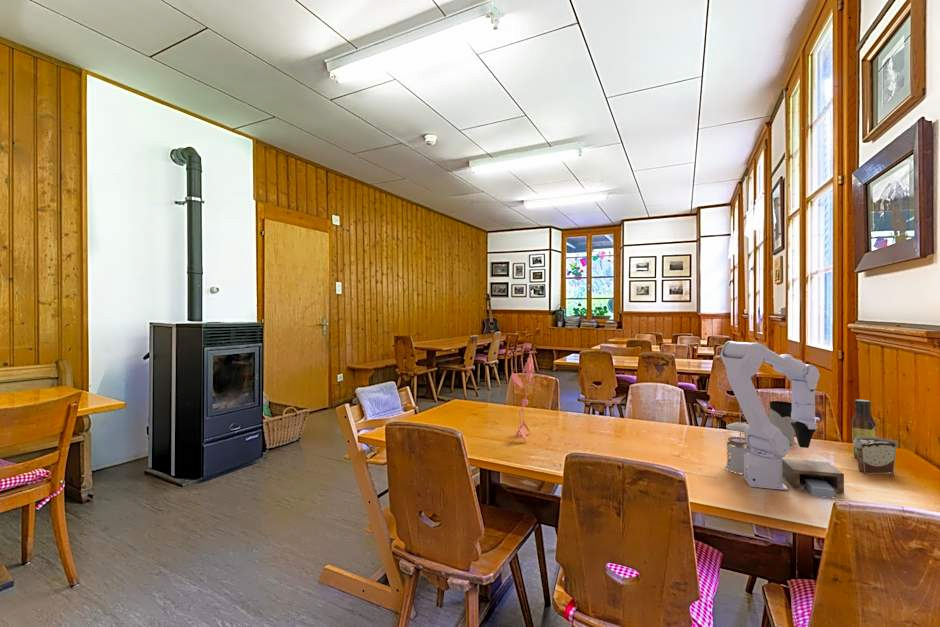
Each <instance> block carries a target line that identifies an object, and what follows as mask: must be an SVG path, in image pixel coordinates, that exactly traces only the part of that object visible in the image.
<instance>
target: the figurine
mask: <svg viewBox="0 0 940 627" xmlns="http://www.w3.org/2000/svg"><path fill="white" fill-rule="evenodd" d="M524 364H525V365H524V367H523V370H522V373H521V375H520V376H519V375H518V374H517V373H514V371H511V378H512V385H513V388H515V387H516V386H518V387H520V388H521V389H523V387H524V388H525V398H523V399H522V400H521V404H522V405H521V408H520V409H519V410H518V414H519V425H518V426H517V429H518V430H517V432H516V433H515V436H514V438H515V437H516V438H517V437H518V433H519V432H520V433H519V434H520V435H521V437H522V439H523V440H524V441H525V440H526V439H527V440H528V438H527V435H526V432H525V431H524V429H523V427H524V428H525V429H526V430H527V432H528V431H529V432H530V433H531V431H530V429H529V427H528V426H527V424H526V422H525V415H524V408H525V407H526V406H528V404H529V400H528V399H527V396H528V388H527V386H526V385H525V384H524V383H523V381H522V379H523V376H524V374H525V373H526V376H525V377H526V379H527V382H528V385H530V384H531V379H533V374H534V375H536V372H535V370H534V369H535V366H534V360H533V356H532V353H529V355H528V357H527V362H525V363H524ZM521 412H522V417H523V420H522V421H521V418H522V417H521ZM529 432H528V433H529Z"/></svg>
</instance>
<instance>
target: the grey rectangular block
mask: <svg viewBox="0 0 940 627" xmlns="http://www.w3.org/2000/svg"><path fill="white" fill-rule="evenodd" d="M804 488H806V489H807V491H808V492H809V493H810V494H811V496H815V495H816V496H817V497H823V496H825V497H826V498H831V497H834V498H835V492H834V489H833V488H832V487H831V486H830V485H829V484H828V483H827V481H822V480H813V479H805V485H804ZM825 497H824V498H825Z"/></svg>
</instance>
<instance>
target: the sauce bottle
mask: <svg viewBox="0 0 940 627" xmlns="http://www.w3.org/2000/svg"><path fill="white" fill-rule="evenodd" d="M854 404H855V414H854V416H853V417H852V419H851V423H852V424H851V425H852V426H851V432H852V433H851V436H852V452H853V456H854V458H856V459H857V451H856V447H855V446H854V445H853V443H854V440H855V438H857V437H877V424H876V421H875V420H874V418H873V416H872V414H871V400H868V399H867V400H866V399H855V400H854Z"/></svg>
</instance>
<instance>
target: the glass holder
mask: <svg viewBox="0 0 940 627" xmlns="http://www.w3.org/2000/svg"><path fill="white" fill-rule="evenodd" d="M791 412H792V402H789V401H783V400H782V401H780V400H772V401H769V412H768V413H769V415H768V418H769V420H770V422H771V423H772V424H773V425H774V426H776V427H777V428H779V429H780V430H781V431H782V433H783V435H784V436H786V437H787V438H788V440H789V443H790V444H793V445H796V444H795V443H796V441H795V435H796V434H795V431H794V429H793V427H792V425H791V422H795V420H793V419H791Z"/></svg>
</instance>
